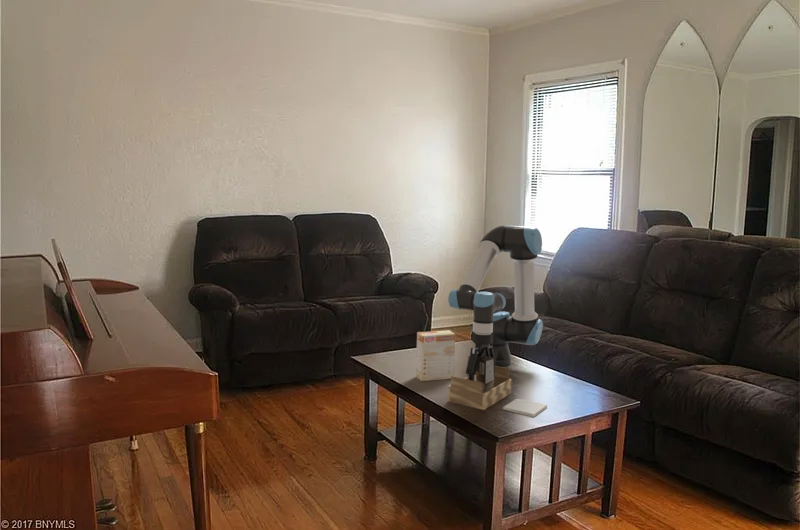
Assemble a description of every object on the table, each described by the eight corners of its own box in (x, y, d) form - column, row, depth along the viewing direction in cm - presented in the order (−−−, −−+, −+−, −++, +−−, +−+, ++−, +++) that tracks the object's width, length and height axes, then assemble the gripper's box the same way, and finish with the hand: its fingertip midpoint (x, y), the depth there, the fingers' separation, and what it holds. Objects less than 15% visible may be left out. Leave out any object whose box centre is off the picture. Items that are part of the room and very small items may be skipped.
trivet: (517, 400, 248) (517, 398, 247) (546, 407, 241) (547, 404, 241) (503, 409, 238) (503, 406, 238) (534, 416, 231) (534, 414, 231)
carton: (476, 386, 264) (477, 362, 263) (510, 393, 256) (511, 369, 254) (448, 401, 245) (448, 375, 244) (483, 410, 237) (484, 383, 235)
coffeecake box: (448, 374, 280) (449, 329, 277) (454, 378, 273) (456, 333, 270) (415, 376, 275) (416, 331, 273) (420, 381, 268) (422, 335, 266)
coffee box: (494, 398, 250) (496, 357, 247) (484, 402, 245) (486, 361, 243) (475, 392, 256) (476, 353, 254) (465, 396, 251) (466, 356, 249)
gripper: (488, 325, 259) (486, 377, 262) (457, 337, 239) (455, 392, 242) (505, 328, 255) (503, 380, 258) (475, 340, 235) (473, 397, 237)
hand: (480, 386), depth 250 cm, fingers open, 13 cm apart
